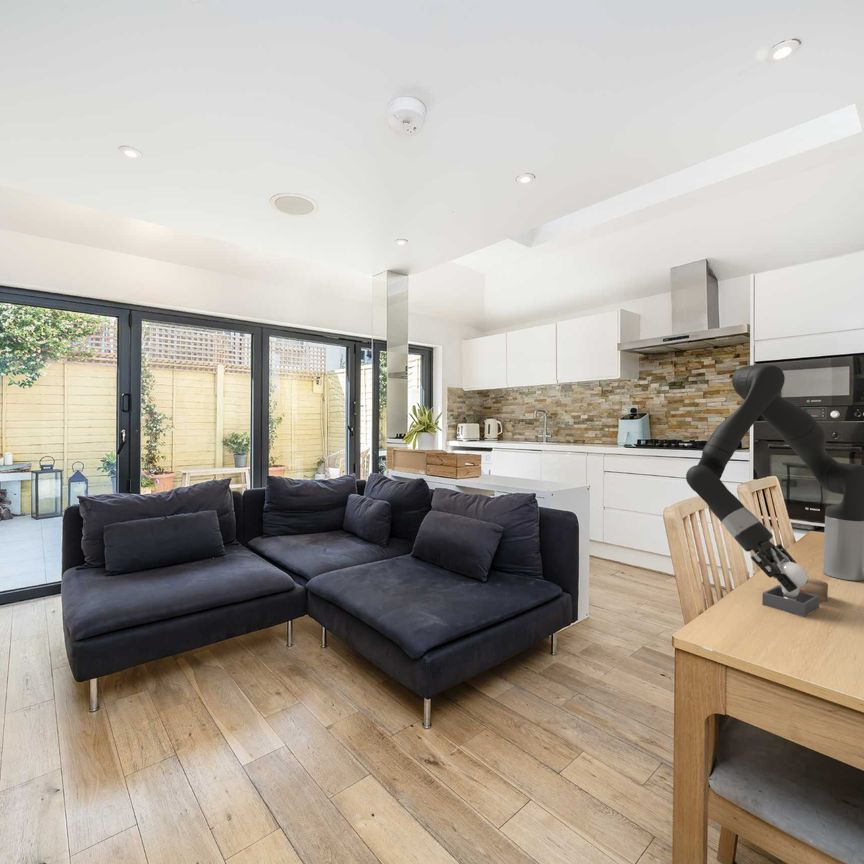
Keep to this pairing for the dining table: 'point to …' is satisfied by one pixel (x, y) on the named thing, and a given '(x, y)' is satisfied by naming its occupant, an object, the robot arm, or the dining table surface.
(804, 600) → the dark grey open tray
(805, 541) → the dining table surface
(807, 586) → the oak stand
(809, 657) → the dining table surface
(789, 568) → the lightbulb
